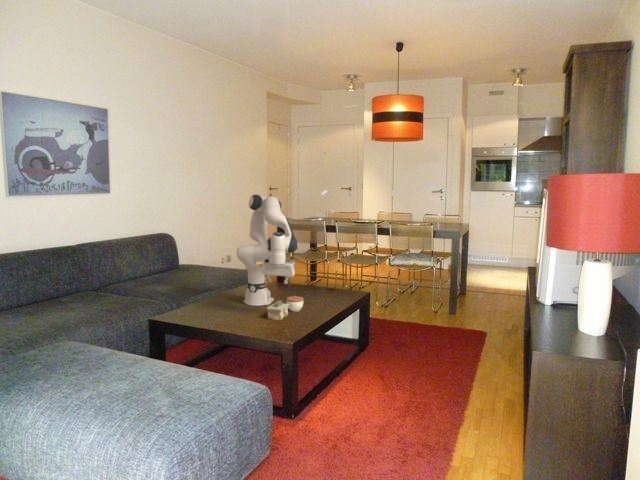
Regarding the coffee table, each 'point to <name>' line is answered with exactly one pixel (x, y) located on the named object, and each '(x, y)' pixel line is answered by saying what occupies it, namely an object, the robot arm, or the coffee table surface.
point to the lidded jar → (295, 303)
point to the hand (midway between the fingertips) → (278, 283)
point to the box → (277, 314)
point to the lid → (278, 306)
